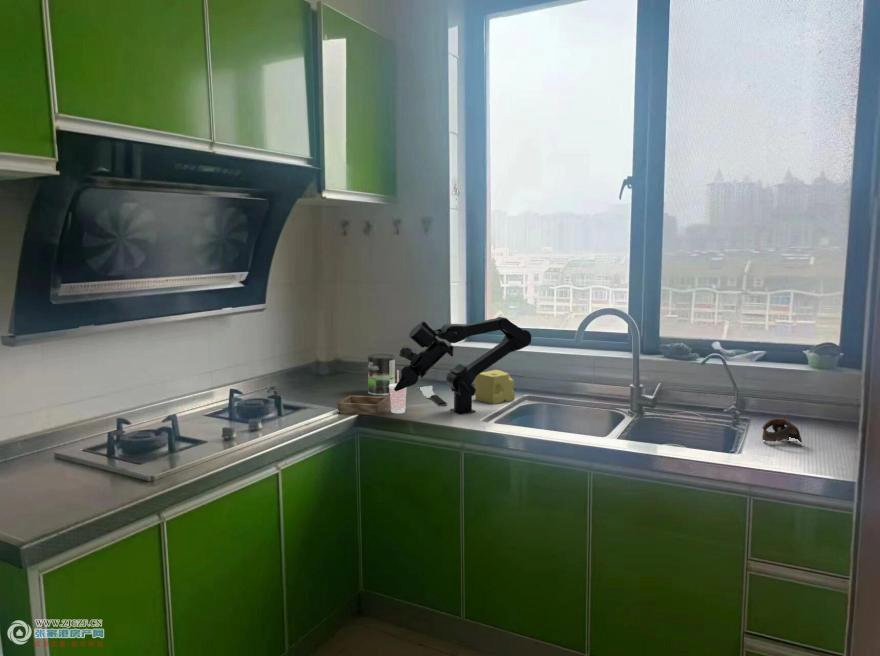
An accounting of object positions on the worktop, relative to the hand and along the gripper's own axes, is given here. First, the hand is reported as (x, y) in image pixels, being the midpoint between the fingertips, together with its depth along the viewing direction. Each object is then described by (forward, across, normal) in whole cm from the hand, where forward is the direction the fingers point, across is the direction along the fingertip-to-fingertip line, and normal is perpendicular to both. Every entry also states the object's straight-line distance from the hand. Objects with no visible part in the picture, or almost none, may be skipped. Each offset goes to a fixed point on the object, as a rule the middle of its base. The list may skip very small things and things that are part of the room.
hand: (398, 387), depth 211 cm
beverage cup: (+6, 0, +6) cm, 8 cm away
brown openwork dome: (-74, +13, +86) cm, 114 cm away
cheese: (-15, -24, +27) cm, 39 cm away
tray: (+14, 0, -3) cm, 15 cm away
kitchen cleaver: (+3, -24, +10) cm, 26 cm away
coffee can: (+16, -28, -4) cm, 32 cm away
